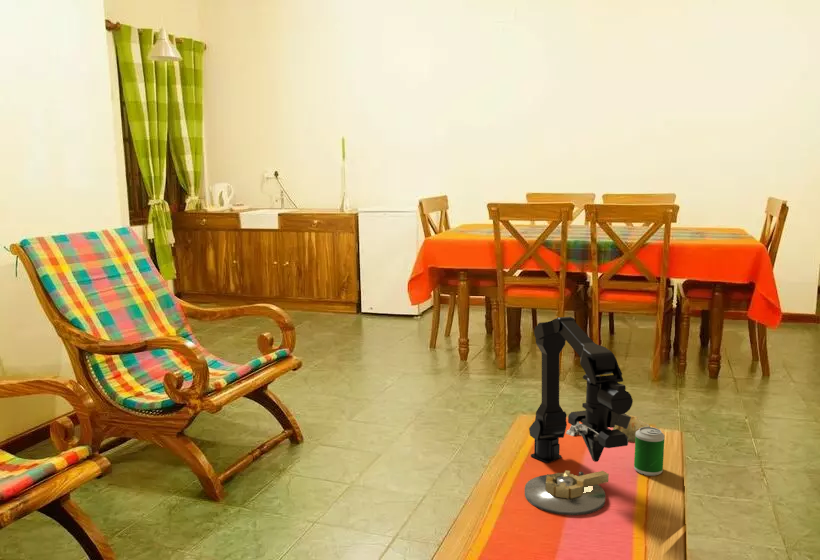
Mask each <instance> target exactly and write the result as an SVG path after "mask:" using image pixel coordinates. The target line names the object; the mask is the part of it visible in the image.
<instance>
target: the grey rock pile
mask: <svg viewBox="0 0 820 560" xmlns="http://www.w3.org/2000/svg"><path fill="white" fill-rule="evenodd" d="M581 424H582V423H581V422H577V424H576V425H575V426H573V425H571V424H570V427H569V429H566V431H565V434H566V435H567V436H568V435H569V436H571V437H574V436H576V435H577V436H578V435H579V436H581V437H582V435H581V434H580V432H579V431H581V430H582V425H581Z"/></svg>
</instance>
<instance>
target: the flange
mask: <svg viewBox="0 0 820 560" xmlns="http://www.w3.org/2000/svg"><path fill="white" fill-rule="evenodd" d="M549 475H551V474H550V473H549ZM582 475H585V473H584V472H583V471H579V472H578V476H582ZM546 476H547V474H543V475H539V476H535V477H534V478H531V479H529V480H528V481H527V482H526V483H525V486H524V497H525V499H526V500H527V502H528V503H530V504H531V505H532V506H533V507H536V508H537V509H540V510H542V511H545V512H548V513H551V514H555V515H562V516H563V515H564V516H585V515H590V514H593V513H596V512H598V511H600V510H601V509H602V508H603V507H604V506H605V504H606V492H605V490H604V489H603V487H602V486H600V484H597V485H593V490H592V491H591V492H586V493H583V495H581V496H579V497H575V498H569V499H568V498H562V497H555V496H553V495H552V494H550V493H549V492H547V491H546V490H545V485H546ZM561 482H562V483H566V486H572V485H573V479H572V478H570V477H566V476H561V477H558V478H557V485H560V483H561Z"/></svg>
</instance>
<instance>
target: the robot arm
mask: <svg viewBox="0 0 820 560" xmlns="http://www.w3.org/2000/svg"><path fill="white" fill-rule="evenodd" d="M533 333H534V337H535V345H536V346H537V347H538V349H539V352H540V353H541V403H540V404H539V406H538V408H537V410H536V411H535V420H534V421H533V422H532V424H531V425H530V426H529V427H528V431H529V436H530V437H532V438H533V439H534V449H533V450H534V451H533V453H531V454H530V457H531V458H534V459H536V460H539V461H542V462H544V463H547V464H549V463H551V462H554V461H557V460H559V459H561V458H562V457H563V456H562V455H561V454H560V451H561V449H560V443H559V442H560V439H563V438H564V437H565V434H566V431H567V426H568V424H570V426H571V425H573V426H575V425H576V424H577V422H579V423H580V424H581V425H582V430H581V431H579V432H580V434H581V435H582V436H581V435H580V436H581V437H582V439H583V441H584V444H585V445H586V448H587V451H588V453H589V455H590V457H591V459H592V461H593V462H594V463H597V462H599V460H600V458H601V455H602V453H603V451H604V448H606V449H612V448H620V447H621V448H622V447H626V446H628V445H629V441H628V436H627V435H626V434H624V433H623V432H621V431H619V430H618V429H615V430H613V428H614V427H615V425H617V426H621V427H623V428H625V429H627V428H628V425H629V422H630V419H631V417H630V416H631V415H630V416H628V415H629V414H627V413H628V412H629V411H630V410H631V408H632V406H633V402H634V401H633V397H632V395H631V393H630V392H629V391H627V389H626V388H627V387H626V385H624V384H623V383H622V382H624V378H623V373H622V370H621V368H620V366H619V363H618V361H617V357H616V355H615V354H614V353H613V351H611V350H610V349H608V348H607V347H605V346H604V345H599V344H597V343H595V342H594V340H593V339H591V338H590V337H589V335H587V333H586V332H585V331H584V330H583V329H582V328H581V327H580V326H579V325H578V323H577V322H576V319H575V317H572V316H561V317H559V316H558V317H557V318H554V319H552V320H549V321H544V322H538V323H537V325H535V328H534V330H533ZM566 342H567V343H568V344H569V346H571V348H572V350H574V351H575V352H576V354H578V356H579V358H580V361H579V364H580V366H581V368H582V369H583V371H584V373H585V374H583V376H582V379H583V380H585V381H586V387H585V388H586V391H585V392H586V393H585V396H586V397H585V402H582V408H583V409H585V410H579V411H578V410H577V411H571V412H570V413H569V414H567V412H566V411H564V410H563V408H562V407H561V405H560V353H562V351H563V349H564V347H565V346H566ZM567 416H568V417H567ZM567 418H568V419H567ZM567 423H568V424H567ZM579 432H578V433H579Z"/></svg>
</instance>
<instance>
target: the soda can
mask: <svg viewBox="0 0 820 560" xmlns="http://www.w3.org/2000/svg"><path fill="white" fill-rule="evenodd" d="M664 451H665V434H664V433H663V432H662V430H661V429H658V428H657V427H653V426H650V427H642V428H640V429H639V430H638V431H636V436H635V442H634V457H633V459H634V463H633V467H634V470H635V471H636V472H638V473H639V474H641V475H643V474H644V475H643V476H647V477H649V476H650V477H654V476H658V475H661V474H662V473H663V470H664V454H665V453H664Z"/></svg>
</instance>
